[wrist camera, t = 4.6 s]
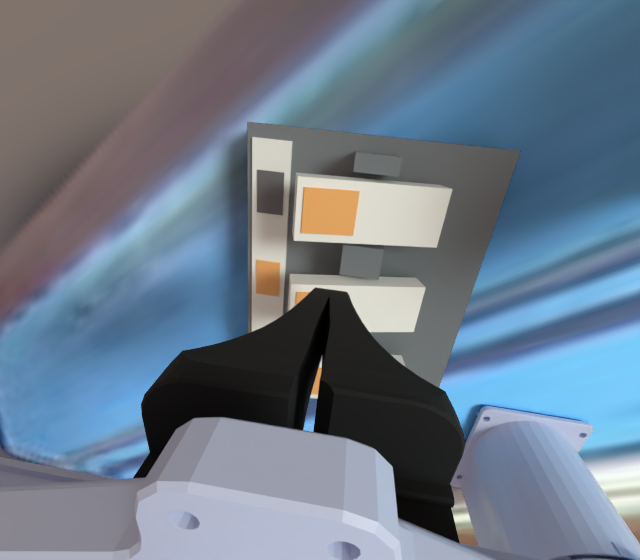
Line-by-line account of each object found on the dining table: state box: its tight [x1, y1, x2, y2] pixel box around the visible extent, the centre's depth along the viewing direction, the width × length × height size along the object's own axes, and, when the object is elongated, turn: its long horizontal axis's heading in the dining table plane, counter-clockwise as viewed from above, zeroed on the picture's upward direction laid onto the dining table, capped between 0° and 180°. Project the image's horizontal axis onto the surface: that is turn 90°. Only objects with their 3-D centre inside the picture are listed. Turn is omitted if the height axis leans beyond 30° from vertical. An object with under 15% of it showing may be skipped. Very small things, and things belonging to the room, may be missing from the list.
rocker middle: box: [287, 274, 426, 332], centre depth 17 cm, size 3×7×1 cm, turn 85°
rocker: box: [292, 173, 453, 248], centre depth 14 cm, size 3×7×1 cm, turn 84°
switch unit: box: [247, 122, 520, 388], centre depth 18 cm, size 16×13×4 cm
